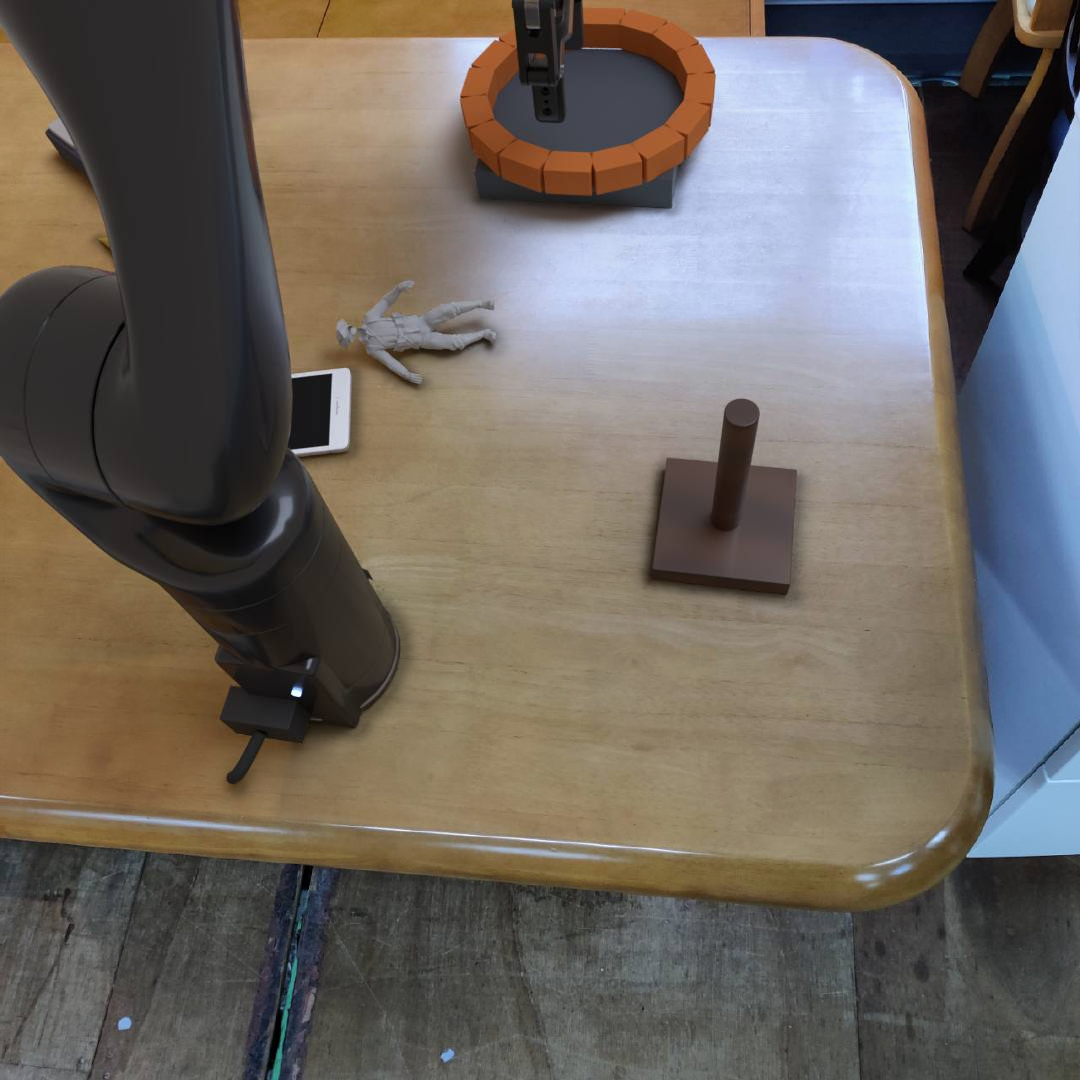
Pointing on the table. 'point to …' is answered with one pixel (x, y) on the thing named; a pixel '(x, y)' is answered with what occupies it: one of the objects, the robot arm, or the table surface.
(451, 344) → the soldier figure
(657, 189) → the stand
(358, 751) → the table surface
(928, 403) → the table surface
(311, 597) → the robot arm
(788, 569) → the post
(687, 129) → the ring
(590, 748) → the table surface
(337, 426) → the cell phone
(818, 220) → the table surface
